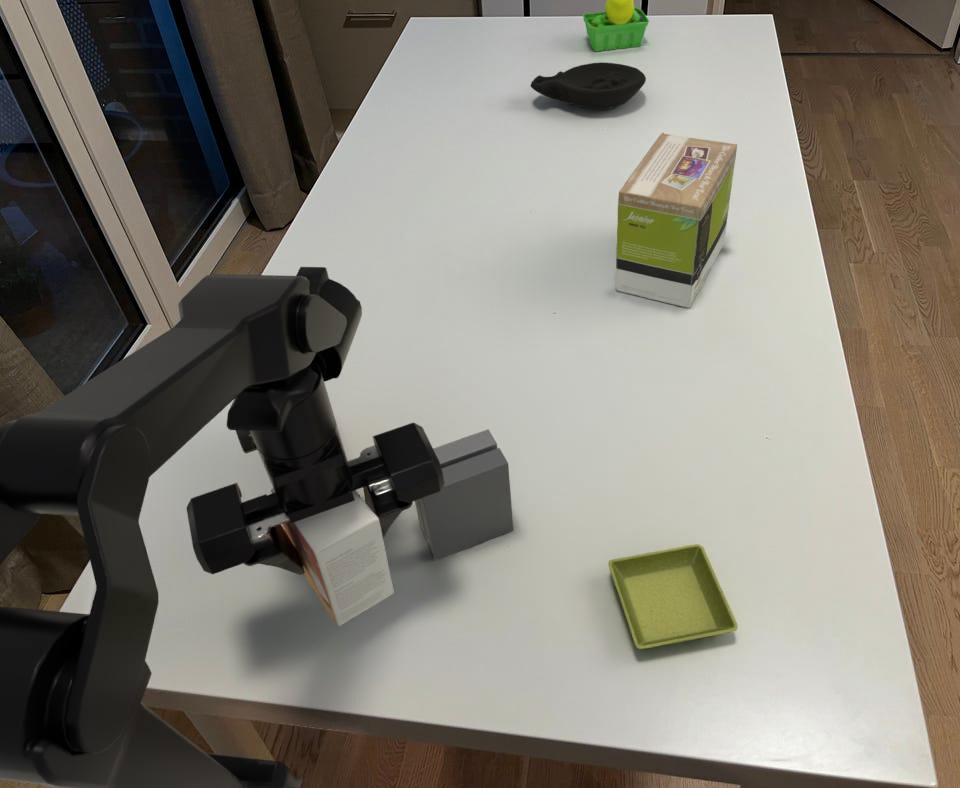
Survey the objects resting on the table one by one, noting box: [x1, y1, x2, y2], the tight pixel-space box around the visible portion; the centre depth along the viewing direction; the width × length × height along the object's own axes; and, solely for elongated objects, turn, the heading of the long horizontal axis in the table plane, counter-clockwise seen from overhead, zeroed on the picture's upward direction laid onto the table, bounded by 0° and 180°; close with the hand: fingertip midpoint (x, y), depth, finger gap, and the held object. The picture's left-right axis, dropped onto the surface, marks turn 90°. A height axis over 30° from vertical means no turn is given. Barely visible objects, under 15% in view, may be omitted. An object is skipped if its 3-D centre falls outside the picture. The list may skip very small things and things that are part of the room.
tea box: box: [614, 132, 738, 308], centre depth 98 cm, size 15×10×15 cm
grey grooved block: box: [414, 429, 514, 561], centre depth 73 cm, size 8×4×10 cm, turn 112°
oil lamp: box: [530, 61, 647, 110], centre depth 137 cm, size 15×20×5 cm
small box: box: [270, 488, 395, 627], centre depth 65 cm, size 8×6×10 cm
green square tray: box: [607, 543, 739, 650], centre depth 68 cm, size 9×9×2 cm
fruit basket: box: [582, 0, 650, 52], centre depth 151 cm, size 11×9×11 cm
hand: (339, 555), depth 66 cm, fingers closed on small box, 6 cm apart
